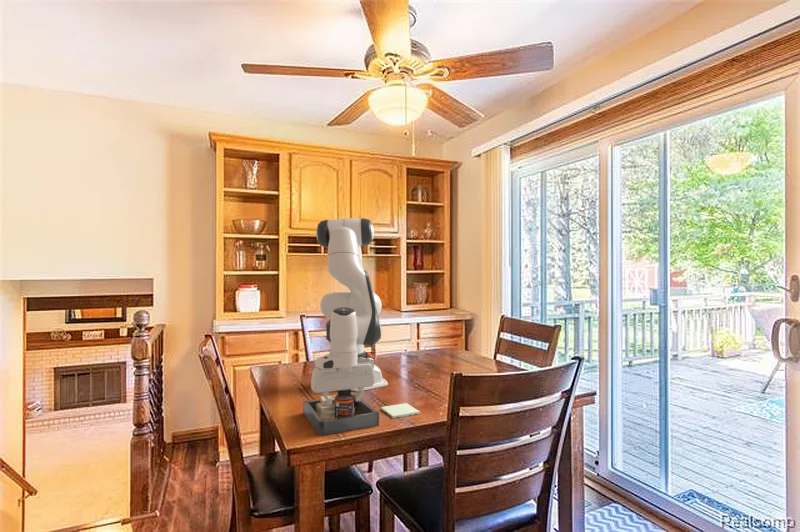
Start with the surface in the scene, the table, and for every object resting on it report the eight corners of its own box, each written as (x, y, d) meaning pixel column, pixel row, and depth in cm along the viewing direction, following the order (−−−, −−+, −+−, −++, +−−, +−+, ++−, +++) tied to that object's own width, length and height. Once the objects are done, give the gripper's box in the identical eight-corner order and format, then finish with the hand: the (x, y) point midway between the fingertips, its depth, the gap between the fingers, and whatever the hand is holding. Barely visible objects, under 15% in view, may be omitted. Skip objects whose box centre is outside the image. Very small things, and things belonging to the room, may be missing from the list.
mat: (406, 405, 154) (406, 403, 154) (419, 414, 145) (419, 411, 145) (381, 409, 149) (381, 407, 149) (393, 418, 140) (393, 416, 140)
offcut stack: (349, 409, 150) (349, 392, 150) (355, 415, 144) (355, 397, 144) (315, 414, 144) (315, 397, 144) (320, 420, 139) (320, 402, 139)
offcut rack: (356, 405, 153) (356, 394, 153) (379, 425, 134) (379, 412, 134) (303, 413, 145) (303, 401, 145) (319, 435, 126) (319, 422, 126)
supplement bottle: (337, 428, 132) (337, 392, 132) (332, 422, 137) (332, 387, 137) (355, 425, 134) (355, 389, 134) (350, 419, 139) (350, 384, 139)
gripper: (370, 355, 143) (370, 396, 142) (309, 360, 134) (309, 404, 134) (377, 358, 137) (377, 401, 137) (314, 364, 128) (314, 410, 128)
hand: (343, 403), depth 135 cm, fingers open, 8 cm apart
